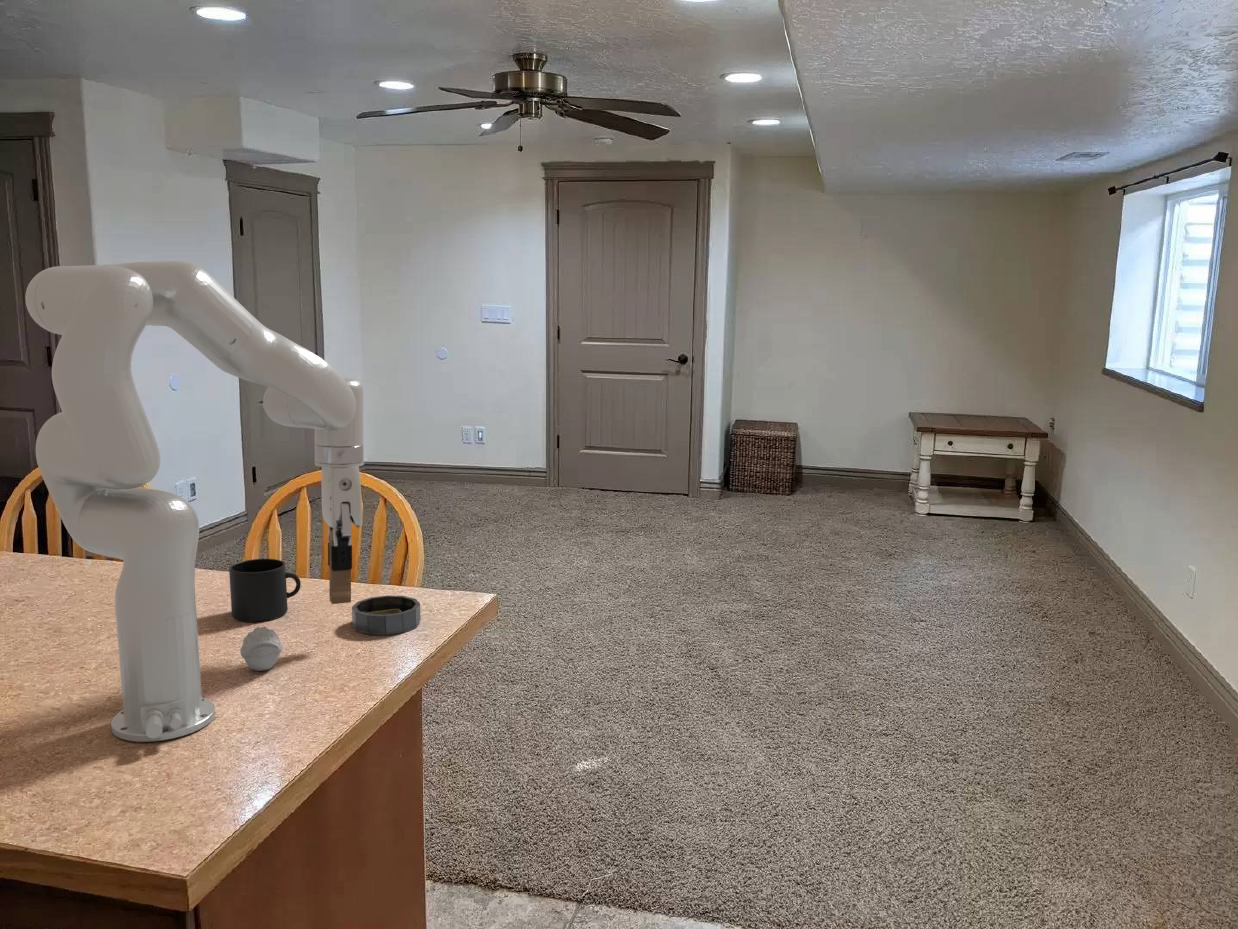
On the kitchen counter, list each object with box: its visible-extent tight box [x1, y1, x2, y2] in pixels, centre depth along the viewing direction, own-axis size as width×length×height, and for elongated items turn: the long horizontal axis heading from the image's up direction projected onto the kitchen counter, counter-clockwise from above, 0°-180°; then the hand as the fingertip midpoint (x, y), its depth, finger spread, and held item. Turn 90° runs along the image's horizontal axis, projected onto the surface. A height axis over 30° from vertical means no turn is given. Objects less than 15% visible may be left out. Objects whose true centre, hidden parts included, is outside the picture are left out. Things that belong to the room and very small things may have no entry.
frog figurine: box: [239, 626, 283, 672], centre depth 148 cm, size 6×7×7 cm
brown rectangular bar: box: [328, 528, 352, 605], centre depth 158 cm, size 2×3×12 cm
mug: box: [228, 558, 302, 623], centre depth 174 cm, size 9×12×9 cm
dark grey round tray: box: [351, 594, 421, 637], centre depth 170 cm, size 11×11×4 cm
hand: (340, 567), depth 158 cm, fingers closed on brown rectangular bar, 2 cm apart
